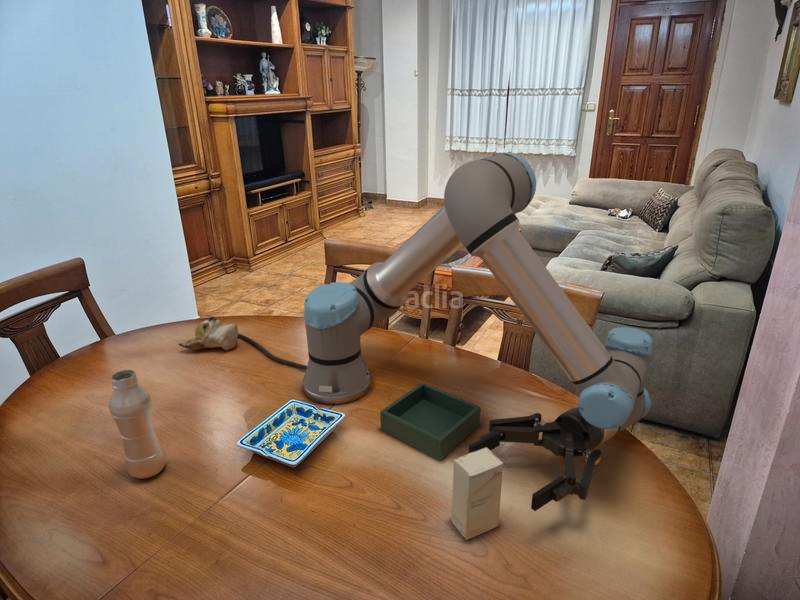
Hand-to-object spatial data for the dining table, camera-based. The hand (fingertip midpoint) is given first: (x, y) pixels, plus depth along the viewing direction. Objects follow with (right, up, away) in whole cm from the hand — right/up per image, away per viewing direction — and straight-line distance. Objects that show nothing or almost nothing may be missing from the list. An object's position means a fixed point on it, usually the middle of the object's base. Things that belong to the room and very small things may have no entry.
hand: (499, 476), depth 80 cm
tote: (-9, +2, +23) cm, 25 cm away
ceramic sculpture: (-65, +15, +57) cm, 88 cm away
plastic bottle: (-61, -4, +13) cm, 62 cm away
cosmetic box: (-4, -8, 0) cm, 9 cm away
